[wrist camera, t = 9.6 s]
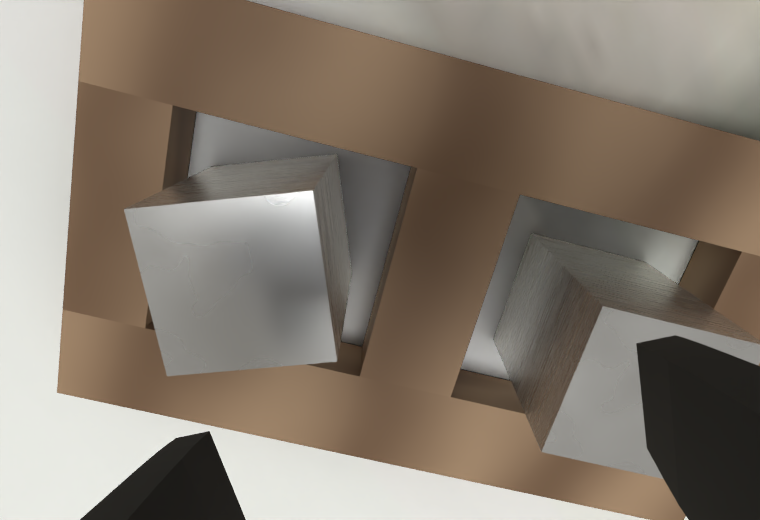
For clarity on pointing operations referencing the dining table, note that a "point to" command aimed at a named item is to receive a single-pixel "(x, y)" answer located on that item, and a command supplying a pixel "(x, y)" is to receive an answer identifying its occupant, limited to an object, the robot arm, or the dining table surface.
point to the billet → (596, 347)
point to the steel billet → (246, 265)
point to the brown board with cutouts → (410, 237)
